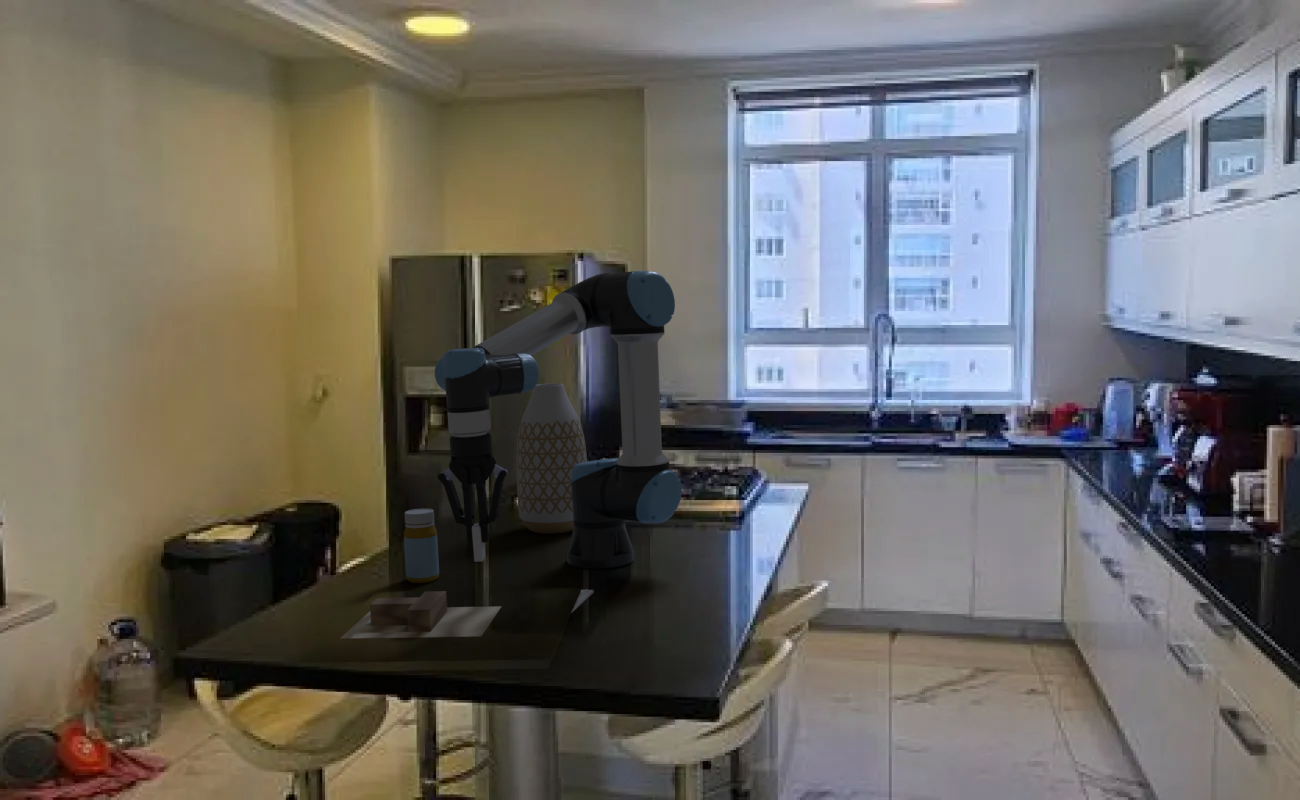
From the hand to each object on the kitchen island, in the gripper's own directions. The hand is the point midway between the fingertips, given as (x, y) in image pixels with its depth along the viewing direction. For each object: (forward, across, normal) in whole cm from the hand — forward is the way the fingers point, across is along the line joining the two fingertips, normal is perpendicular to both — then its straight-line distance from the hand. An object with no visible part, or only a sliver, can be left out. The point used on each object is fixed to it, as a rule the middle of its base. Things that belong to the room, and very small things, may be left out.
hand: (479, 559), depth 193 cm
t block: (+10, +14, +4) cm, 17 cm away
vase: (+14, -2, -80) cm, 81 cm away
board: (+11, +10, +4) cm, 16 cm away
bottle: (+12, +20, -31) cm, 39 cm away
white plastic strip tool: (+13, -15, -11) cm, 23 cm away
